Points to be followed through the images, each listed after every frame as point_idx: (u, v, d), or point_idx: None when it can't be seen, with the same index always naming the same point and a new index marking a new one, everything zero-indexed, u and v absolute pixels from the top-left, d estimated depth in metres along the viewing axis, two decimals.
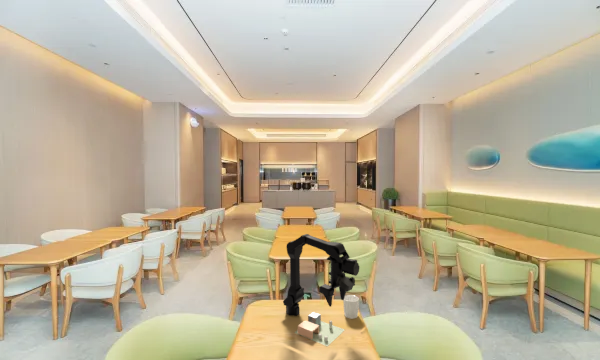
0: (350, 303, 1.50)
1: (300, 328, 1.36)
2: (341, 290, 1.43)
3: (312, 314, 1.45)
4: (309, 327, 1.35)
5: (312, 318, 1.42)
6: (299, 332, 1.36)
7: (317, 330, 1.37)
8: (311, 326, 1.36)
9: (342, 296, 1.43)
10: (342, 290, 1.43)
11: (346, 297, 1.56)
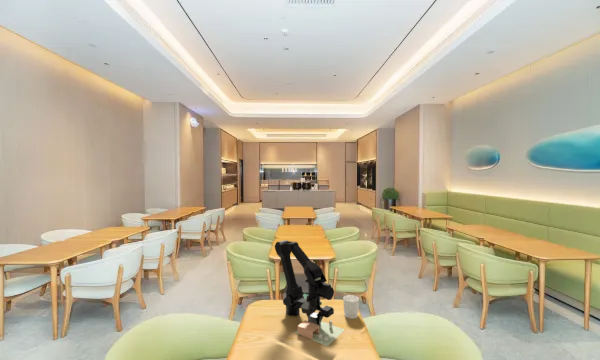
0: (350, 303, 1.50)
1: (300, 328, 1.36)
2: None
3: (312, 314, 1.45)
4: (309, 327, 1.35)
5: (312, 318, 1.42)
6: (299, 332, 1.36)
7: (317, 330, 1.37)
8: (311, 326, 1.36)
9: None
10: None
11: (346, 297, 1.56)
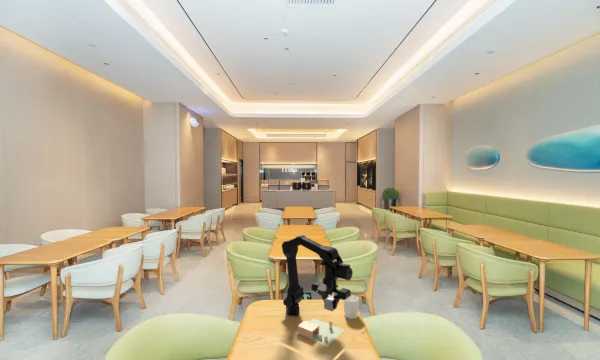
0: (350, 303, 1.50)
1: (300, 328, 1.36)
2: None
3: (328, 297, 1.41)
4: (309, 327, 1.35)
5: (328, 301, 1.39)
6: (299, 332, 1.36)
7: (317, 330, 1.37)
8: (311, 326, 1.36)
9: None
10: None
11: None
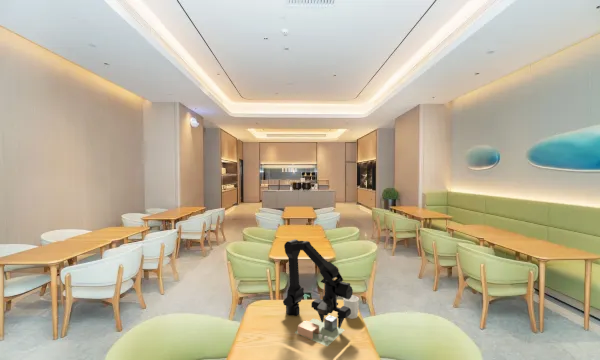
0: (350, 303, 1.50)
1: (300, 328, 1.36)
2: None
3: (328, 317, 1.42)
4: (309, 327, 1.35)
5: (328, 321, 1.39)
6: (299, 332, 1.36)
7: (317, 330, 1.37)
8: (311, 326, 1.36)
9: None
10: None
11: None
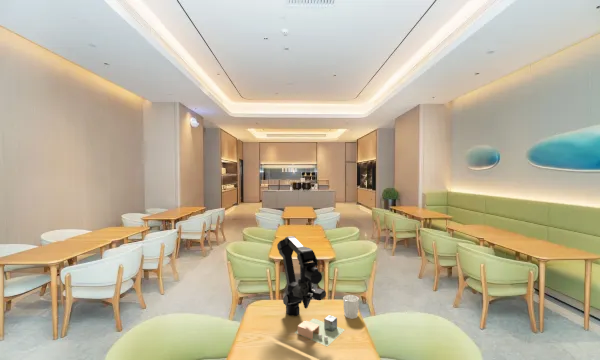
0: (350, 303, 1.50)
1: (300, 328, 1.36)
2: None
3: (328, 317, 1.42)
4: (309, 327, 1.35)
5: (328, 321, 1.39)
6: (299, 332, 1.36)
7: (317, 330, 1.37)
8: (311, 326, 1.36)
9: None
10: None
11: (346, 297, 1.56)
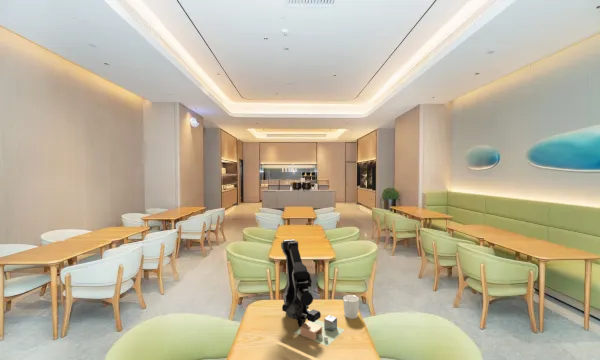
0: (350, 303, 1.50)
1: (303, 329, 1.35)
2: None
3: (328, 317, 1.42)
4: (311, 328, 1.34)
5: (328, 321, 1.39)
6: (302, 333, 1.35)
7: (320, 331, 1.36)
8: (314, 327, 1.35)
9: None
10: None
11: (346, 297, 1.56)
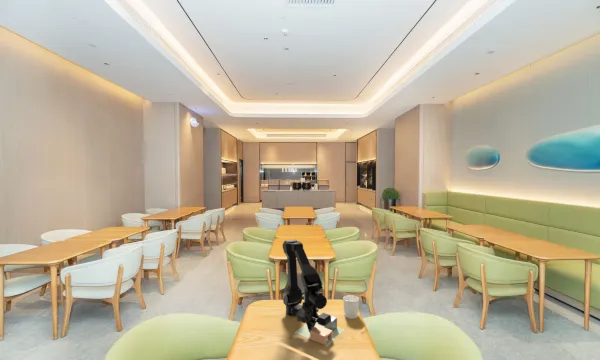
0: (350, 303, 1.50)
1: (313, 333, 1.32)
2: None
3: None
4: (322, 332, 1.31)
5: None
6: (312, 337, 1.32)
7: (330, 335, 1.32)
8: (324, 331, 1.32)
9: None
10: None
11: (346, 297, 1.56)
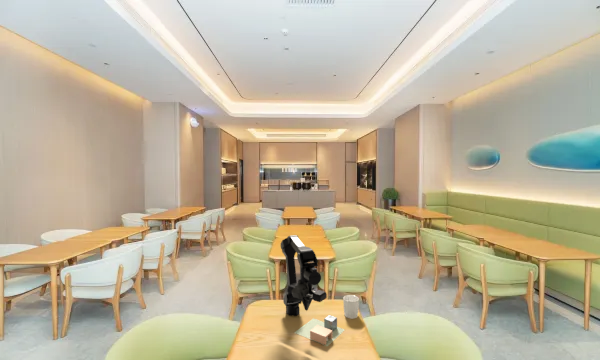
0: (350, 303, 1.50)
1: (313, 333, 1.32)
2: None
3: (328, 317, 1.42)
4: (322, 332, 1.31)
5: (328, 321, 1.39)
6: (312, 337, 1.32)
7: (330, 335, 1.32)
8: (324, 331, 1.32)
9: None
10: None
11: (346, 297, 1.56)
